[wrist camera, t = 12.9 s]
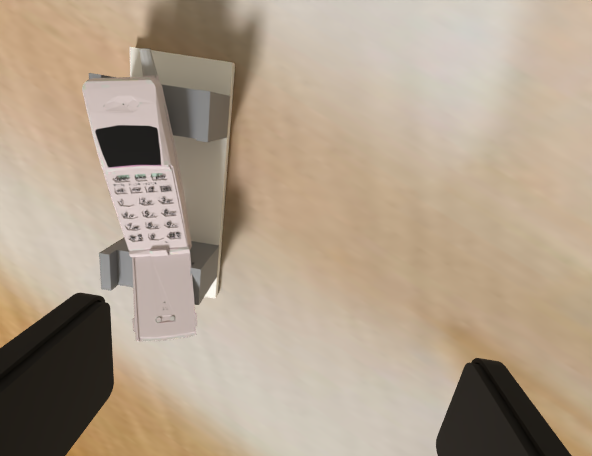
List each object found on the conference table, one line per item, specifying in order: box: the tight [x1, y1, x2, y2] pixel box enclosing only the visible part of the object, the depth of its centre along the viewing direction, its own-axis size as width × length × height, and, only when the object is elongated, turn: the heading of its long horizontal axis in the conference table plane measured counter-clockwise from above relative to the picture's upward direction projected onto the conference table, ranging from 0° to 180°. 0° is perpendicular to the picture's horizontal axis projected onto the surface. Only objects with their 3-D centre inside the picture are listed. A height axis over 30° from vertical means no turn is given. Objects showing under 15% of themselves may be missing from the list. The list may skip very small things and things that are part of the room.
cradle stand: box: [89, 47, 235, 305], centre depth 33 cm, size 26×10×7 cm, turn 172°
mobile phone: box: [82, 49, 197, 341], centre depth 29 cm, size 6×6×25 cm
